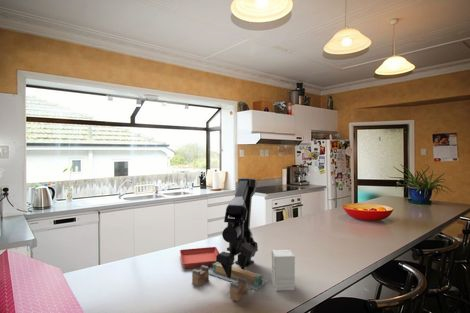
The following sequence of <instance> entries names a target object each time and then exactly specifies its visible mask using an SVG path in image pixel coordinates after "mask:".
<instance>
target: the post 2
mask: <svg viewBox="0 0 470 313" xmlns="http://www.w3.org/2000/svg"><path fill="white" fill-rule="evenodd" d="M229 284H230V285H229V299H230V300H233V301H236V302H239V301H240V300H241V299H242V298H244V297H245V296H247V295H248V288H247V279H244V278H241V277H240V278H238V282H237V283H233V282H229Z"/></svg>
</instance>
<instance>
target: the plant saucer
mask: <svg viewBox="0 0 470 313" xmlns="http://www.w3.org/2000/svg"><path fill="white" fill-rule="evenodd" d="M219 253H220V252H219V249H218V248H217V246H209V247H197V248H185V249H180V250H179V254H180V260H181V265H182V266H183V267H184V268H185V269H193V268H195V269H196V268H201V266H202V265H204V266H207V267H211V266H212V267H213V264H214V263H216V256H217V255H218V254H219Z"/></svg>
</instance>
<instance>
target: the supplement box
mask: <svg viewBox="0 0 470 313" xmlns="http://www.w3.org/2000/svg"><path fill="white" fill-rule="evenodd" d="M295 258H296V256H295V255H294V253H293V252H292V250H291V249H271V283H272V285H273V288H274V290H275V291H277V292H278V291H279V292H280V291H295V290H296V288H295V287H296V286H295V285H296V283H295V281H296V280H295V279H296V276H295V275H296V274H295V273H296V272H295V271H296V270H295V269H296V268H295V267H296V266H295V265H296V262H295V261H296V259H295Z"/></svg>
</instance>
